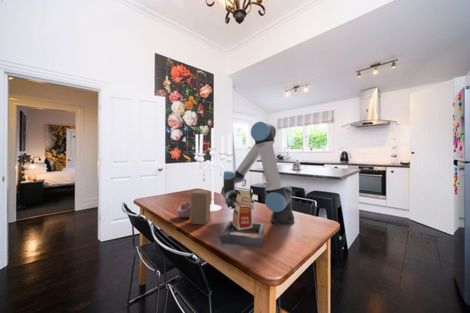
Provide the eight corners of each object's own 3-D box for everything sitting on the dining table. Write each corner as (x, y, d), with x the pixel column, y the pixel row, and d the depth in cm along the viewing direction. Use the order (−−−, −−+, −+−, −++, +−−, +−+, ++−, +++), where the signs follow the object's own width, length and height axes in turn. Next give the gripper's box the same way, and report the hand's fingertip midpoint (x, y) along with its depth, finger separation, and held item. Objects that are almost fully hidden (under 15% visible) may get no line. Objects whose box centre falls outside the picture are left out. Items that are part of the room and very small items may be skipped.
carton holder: (263, 230, 111) (263, 223, 111) (260, 246, 92) (260, 238, 92) (230, 227, 116) (230, 220, 115) (220, 242, 96) (220, 234, 96)
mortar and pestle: (173, 217, 135) (173, 200, 135) (189, 213, 143) (188, 198, 143) (181, 221, 126) (181, 204, 126) (197, 217, 134) (197, 201, 134)
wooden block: (205, 225, 119) (205, 193, 119) (190, 224, 121) (190, 192, 121) (210, 219, 129) (210, 190, 129) (196, 218, 131) (196, 189, 131)
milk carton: (238, 230, 98) (239, 191, 97) (231, 223, 106) (232, 187, 106) (254, 227, 101) (255, 189, 101) (246, 221, 110) (246, 186, 109)
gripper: (248, 202, 124) (264, 213, 102) (216, 204, 118) (226, 217, 96) (248, 190, 124) (264, 199, 102) (217, 192, 117) (226, 202, 96)
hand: (245, 207), depth 99 cm, fingers closed on milk carton, 8 cm apart
